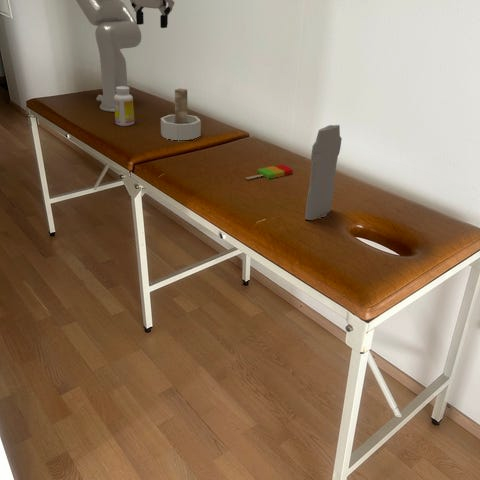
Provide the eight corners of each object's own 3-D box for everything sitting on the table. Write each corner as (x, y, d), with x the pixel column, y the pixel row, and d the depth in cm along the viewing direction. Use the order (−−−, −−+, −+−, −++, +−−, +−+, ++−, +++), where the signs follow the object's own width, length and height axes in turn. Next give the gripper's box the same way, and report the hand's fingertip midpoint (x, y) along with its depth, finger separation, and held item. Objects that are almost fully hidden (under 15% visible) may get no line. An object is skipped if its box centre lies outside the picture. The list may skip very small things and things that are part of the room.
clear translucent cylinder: (175, 131, 175) (174, 89, 169) (179, 129, 178) (179, 88, 171) (183, 133, 174) (182, 91, 168) (187, 131, 177) (187, 89, 170)
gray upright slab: (323, 206, 129) (335, 119, 119) (337, 211, 127) (350, 123, 116) (297, 218, 122) (307, 127, 112) (311, 224, 120) (323, 131, 109)
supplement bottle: (136, 122, 188) (134, 86, 182) (131, 127, 183) (129, 90, 176) (118, 120, 189) (116, 85, 183) (113, 125, 183) (110, 88, 177)
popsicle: (293, 175, 149) (294, 169, 148) (252, 185, 141) (252, 178, 140) (281, 169, 153) (282, 163, 152) (240, 178, 145) (240, 172, 144)
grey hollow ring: (155, 137, 173) (154, 120, 171) (174, 128, 184) (174, 112, 181) (187, 143, 169) (187, 126, 166) (205, 134, 179) (206, 118, 176)
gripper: (122, -33, 167) (124, 24, 176) (167, -29, 161) (167, 30, 170) (135, -33, 173) (137, 22, 182) (179, -29, 167) (179, 28, 176)
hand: (151, 26), depth 176 cm, fingers open, 9 cm apart
